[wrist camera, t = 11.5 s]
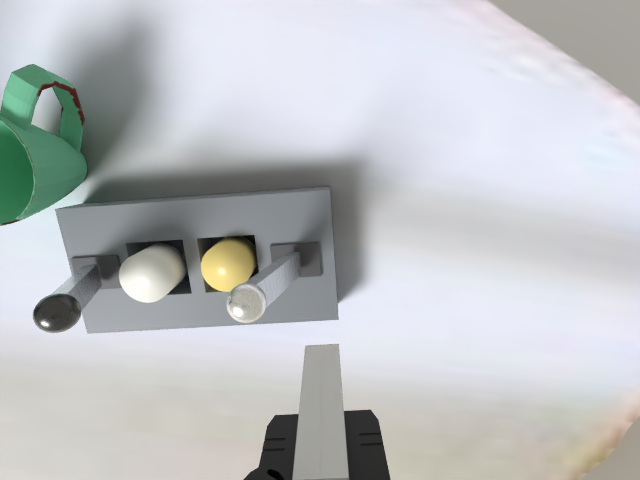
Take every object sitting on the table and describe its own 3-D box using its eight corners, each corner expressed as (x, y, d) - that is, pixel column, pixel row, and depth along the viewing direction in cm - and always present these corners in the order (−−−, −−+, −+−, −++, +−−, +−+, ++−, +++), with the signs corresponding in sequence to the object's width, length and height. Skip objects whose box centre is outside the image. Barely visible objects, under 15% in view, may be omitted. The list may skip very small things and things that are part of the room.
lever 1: (79, 291, 36) (31, 343, 25) (72, 264, 35) (20, 306, 25) (112, 286, 36) (78, 334, 26) (106, 259, 36) (68, 298, 26)
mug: (87, 225, 40) (9, 249, 30) (7, 176, 38) (-101, 185, 29) (145, 113, 36) (79, 99, 27) (60, 56, 35) (-42, 20, 26)
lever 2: (283, 276, 36) (221, 328, 26) (280, 248, 35) (215, 290, 25) (310, 277, 35) (256, 332, 25) (307, 249, 34) (251, 293, 24)
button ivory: (145, 288, 38) (124, 304, 34) (136, 244, 37) (113, 255, 33) (190, 285, 38) (174, 301, 34) (182, 241, 37) (165, 252, 33)
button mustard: (217, 279, 39) (204, 293, 35) (210, 236, 38) (197, 246, 34) (260, 276, 39) (253, 290, 35) (255, 233, 38) (247, 243, 34)
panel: (109, 316, 42) (85, 334, 38) (82, 203, 39) (52, 209, 35) (337, 303, 41) (338, 320, 37) (329, 186, 38) (330, 190, 34)
